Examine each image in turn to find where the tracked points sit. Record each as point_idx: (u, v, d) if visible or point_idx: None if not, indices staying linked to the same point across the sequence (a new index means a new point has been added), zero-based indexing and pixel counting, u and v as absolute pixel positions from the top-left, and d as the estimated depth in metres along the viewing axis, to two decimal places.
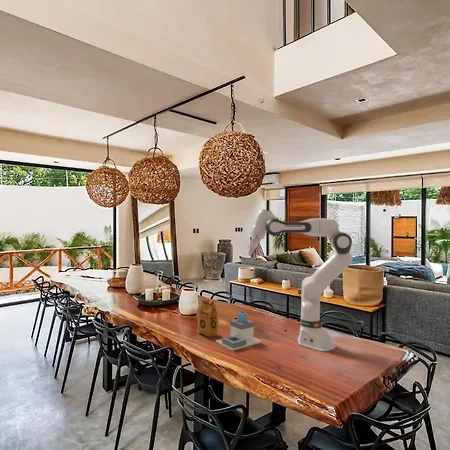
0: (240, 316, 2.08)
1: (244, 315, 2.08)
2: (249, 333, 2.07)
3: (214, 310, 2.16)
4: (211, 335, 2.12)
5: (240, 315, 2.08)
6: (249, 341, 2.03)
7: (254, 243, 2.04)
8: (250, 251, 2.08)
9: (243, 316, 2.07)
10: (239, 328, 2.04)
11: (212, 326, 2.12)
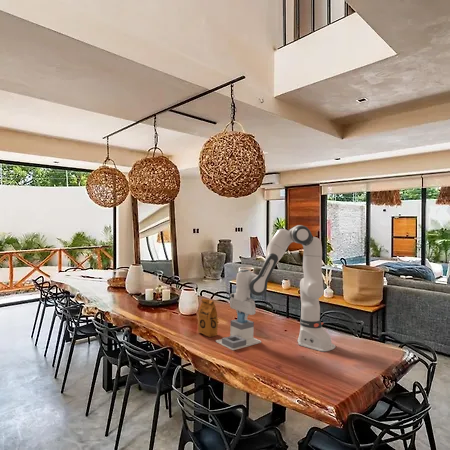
0: (240, 316, 2.08)
1: (244, 315, 2.08)
2: (249, 333, 2.07)
3: (214, 310, 2.16)
4: (211, 335, 2.12)
5: (240, 315, 2.08)
6: (249, 341, 2.03)
7: (254, 308, 2.02)
8: (246, 315, 2.06)
9: (243, 316, 2.07)
10: (239, 328, 2.04)
11: (212, 326, 2.12)
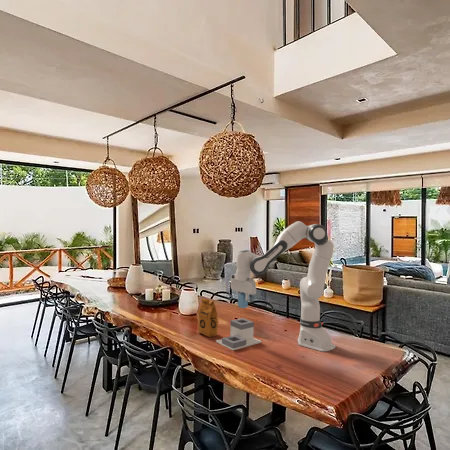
0: (241, 297, 2.08)
1: None
2: (249, 333, 2.07)
3: (214, 310, 2.16)
4: (211, 335, 2.12)
5: (241, 296, 2.08)
6: (249, 341, 2.03)
7: (254, 287, 2.02)
8: (247, 296, 2.06)
9: (244, 296, 2.07)
10: (239, 328, 2.04)
11: (212, 326, 2.12)
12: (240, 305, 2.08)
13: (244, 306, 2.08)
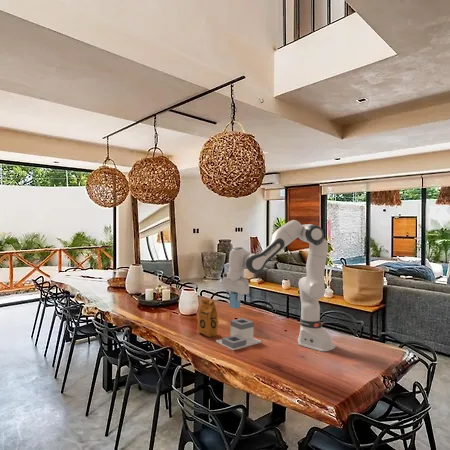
0: (233, 296, 1.96)
1: (237, 295, 1.96)
2: (249, 333, 2.07)
3: (214, 310, 2.16)
4: (211, 335, 2.12)
5: (233, 295, 1.96)
6: (249, 341, 2.03)
7: (247, 287, 1.91)
8: (240, 295, 1.94)
9: (236, 296, 1.96)
10: (239, 328, 2.04)
11: (212, 326, 2.12)
12: (232, 305, 1.96)
13: (236, 306, 1.96)
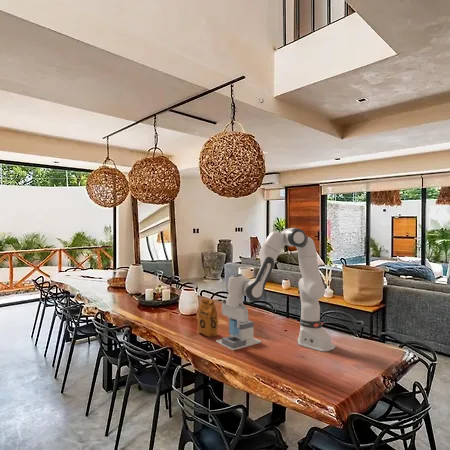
0: (232, 323, 1.96)
1: (236, 322, 1.96)
2: (249, 333, 2.07)
3: (214, 310, 2.16)
4: (211, 335, 2.12)
5: (232, 322, 1.96)
6: (249, 341, 2.03)
7: (247, 315, 1.91)
8: (239, 323, 1.95)
9: (235, 323, 1.96)
10: (239, 328, 2.04)
11: (212, 326, 2.12)
12: (231, 332, 1.97)
13: (235, 333, 1.96)
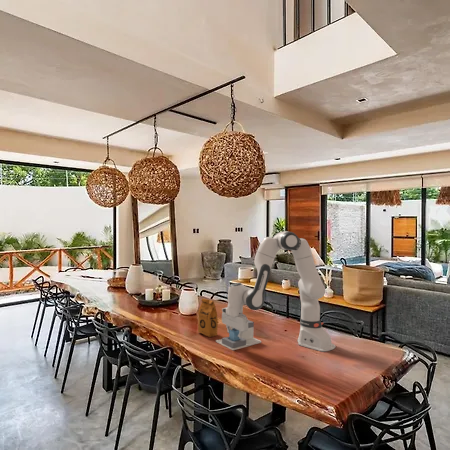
0: (232, 334, 1.96)
1: (236, 332, 1.96)
2: (249, 333, 2.07)
3: (214, 310, 2.16)
4: (211, 335, 2.12)
5: (232, 332, 1.96)
6: (249, 341, 2.03)
7: (246, 324, 1.91)
8: (241, 333, 1.93)
9: (235, 334, 1.96)
10: None
11: (212, 326, 2.12)
12: None
13: None
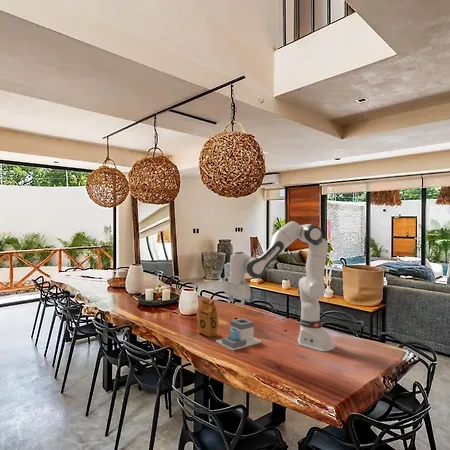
0: (232, 334, 1.96)
1: (236, 332, 1.96)
2: (249, 333, 2.07)
3: (214, 310, 2.16)
4: (211, 335, 2.12)
5: (232, 332, 1.96)
6: (249, 341, 2.03)
7: (249, 291, 1.92)
8: (243, 300, 1.94)
9: (235, 334, 1.96)
10: (239, 328, 2.04)
11: (212, 326, 2.12)
12: None
13: None
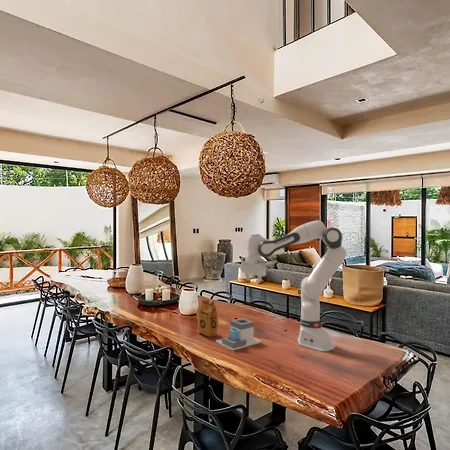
0: (232, 334, 1.96)
1: (236, 332, 1.96)
2: (249, 333, 2.07)
3: (214, 310, 2.16)
4: (211, 335, 2.12)
5: (232, 332, 1.96)
6: (249, 341, 2.03)
7: (265, 269, 2.11)
8: (259, 278, 2.14)
9: (235, 334, 1.96)
10: (239, 328, 2.04)
11: (212, 326, 2.12)
12: None
13: None
